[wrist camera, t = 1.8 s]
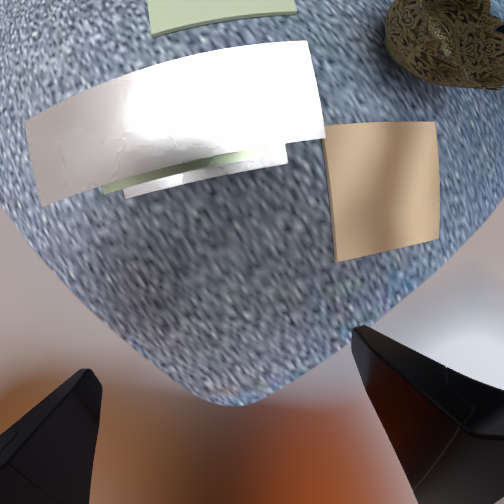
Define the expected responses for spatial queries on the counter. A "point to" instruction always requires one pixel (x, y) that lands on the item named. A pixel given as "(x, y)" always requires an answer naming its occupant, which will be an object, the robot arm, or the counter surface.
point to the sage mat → (210, 12)
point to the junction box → (178, 122)
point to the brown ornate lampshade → (447, 42)
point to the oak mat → (382, 186)
